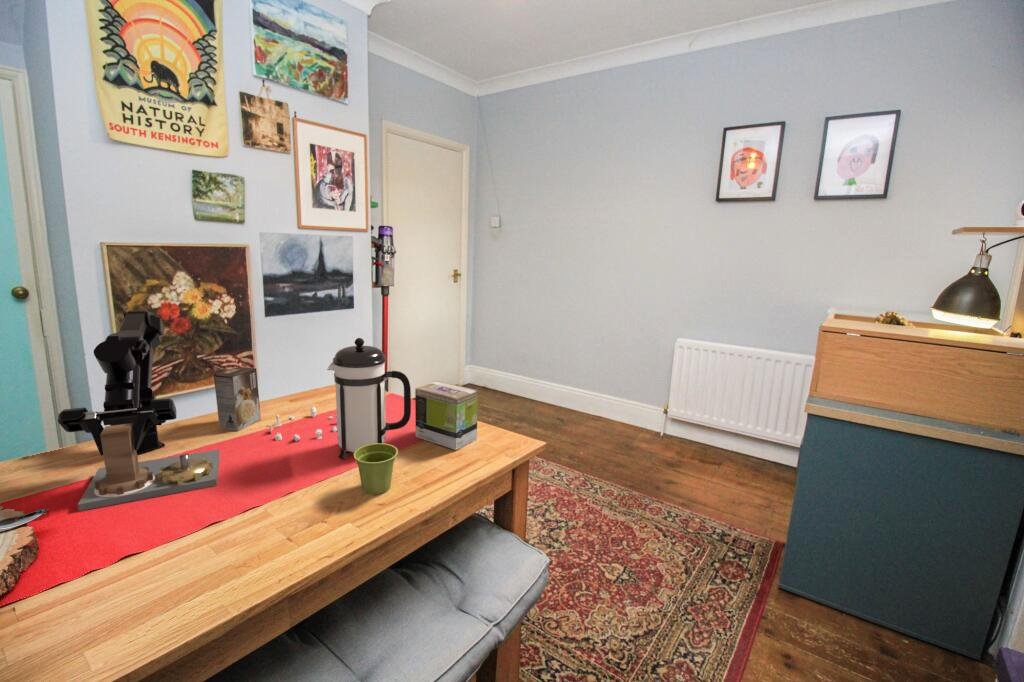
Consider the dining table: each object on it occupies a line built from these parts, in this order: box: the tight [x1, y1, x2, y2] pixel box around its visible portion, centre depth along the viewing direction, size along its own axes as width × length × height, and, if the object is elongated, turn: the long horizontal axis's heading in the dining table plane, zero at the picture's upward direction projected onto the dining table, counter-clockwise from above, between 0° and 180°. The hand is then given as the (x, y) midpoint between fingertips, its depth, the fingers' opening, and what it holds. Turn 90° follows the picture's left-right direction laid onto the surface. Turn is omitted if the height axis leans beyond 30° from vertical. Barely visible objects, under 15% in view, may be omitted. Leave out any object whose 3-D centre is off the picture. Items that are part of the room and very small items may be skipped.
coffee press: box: [326, 337, 412, 460], centre depth 120 cm, size 17×16×30 cm
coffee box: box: [213, 366, 262, 432], centre depth 133 cm, size 9×6×16 cm
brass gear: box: [157, 453, 213, 486], centre depth 103 cm, size 10×10×4 cm
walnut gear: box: [95, 423, 153, 495], centre depth 97 cm, size 9×9×12 cm
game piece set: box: [269, 406, 337, 442], centre depth 134 cm, size 19×20×4 cm
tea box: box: [414, 380, 479, 451], centre depth 130 cm, size 15×10×15 cm
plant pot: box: [353, 442, 399, 495], centre depth 103 cm, size 9×9×9 cm
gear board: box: [77, 449, 221, 512], centre depth 104 cm, size 16×23×2 cm
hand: (119, 452), depth 96 cm, fingers open, 5 cm apart
